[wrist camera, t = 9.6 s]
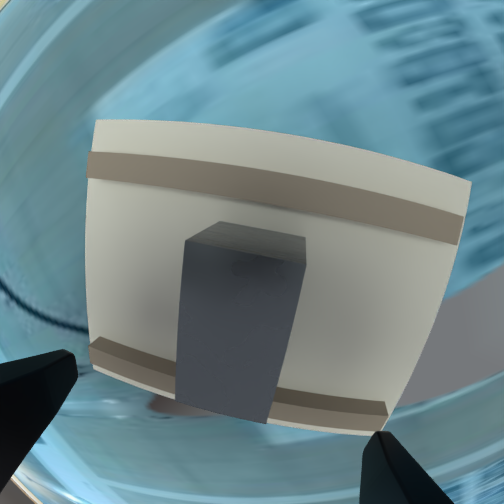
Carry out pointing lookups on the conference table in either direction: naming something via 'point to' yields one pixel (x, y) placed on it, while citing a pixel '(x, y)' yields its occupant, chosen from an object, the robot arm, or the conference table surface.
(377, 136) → the conference table surface
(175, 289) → the plate
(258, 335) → the block
